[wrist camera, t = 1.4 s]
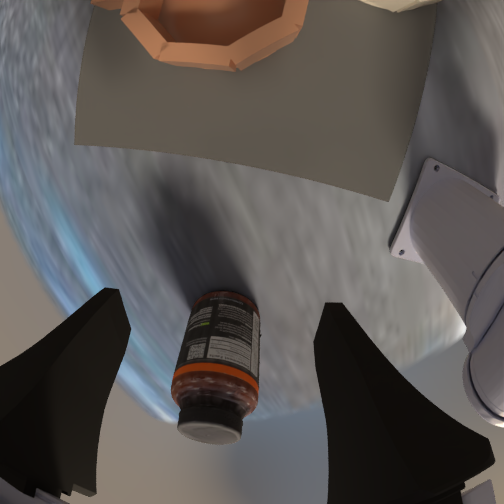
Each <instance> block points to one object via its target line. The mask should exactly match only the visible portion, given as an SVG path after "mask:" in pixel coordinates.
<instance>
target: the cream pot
mask: <svg viewBox="0 0 504 504" xmlns="http://www.w3.org/2000/svg"><path fill="white" fill-rule="evenodd" d="M359 1H361V2H364V3H366V4H369V5H372V6H375V7H379V8H382V9H388V10H390V11H392V12H395V11H397V13H399V12H402V11H406V10H412V9H415V8H418V7H421V6H426V5H430V4H434V3H437V2H439V1H442V0H359Z"/></svg>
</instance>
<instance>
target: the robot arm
mask: <svg viewBox="0 0 504 504" xmlns="http://www.w3.org/2000/svg"><path fill="white" fill-rule="evenodd" d="M435 165H437V168H436V170H434V167H435ZM400 250H403V251H402V252H400V253H399V251H400ZM390 253H391V255H392V256H394V257H398V258H402V259H407V260H411V261H415V262H419V263H423V264H425V265H426V266H427V267H428V269H429V270H430V272H431V273H432V274H433V276H434V277H435V279H436V280H437V282H438V283H439V284H440V286H441V287H442V289H443V290H444V292H445V293H446V295H447V296H448V298H449V299H450V301H451V302H452V304H453V306H454V307H455V309H456V310H457V312H458V313H459V315H460V317H461V318H462V320H463V322H464V323H465V325H466V327H467V329H466V333H465V335H464V336H463V341H464V343H465V345H466V347H467V349H468V351H469V354H468V355H467V357H466V359H465V362H464V365H463V371H462V372H463V385H464V388H465V392H466V394H467V397H468V399H469V401H470V403H471V405H472V407H473V408H474V409H475V411H476V412H477V413H478V414H479V415H480V416H481V417H482V418H483V419H484V420H486V421H487V422H488V423H491V424H493V425H496V426H499V427H504V207H503V206H501V205H500V197H499V196H498V195H497V194H495V193H494V192H492V191H490V190H489V189H487V188H486V187H484V186H482V185H481V184H479V183H477V182H476V181H474V180H472V179H470V178H469V177H467V176H465V175H463V174H461V173H460V172H458V171H456V170H454V169H452V168H450V167H448V166H446V165H444V164H442V163H440V162H438V161H436V160H434V159H432V158H427V159H426V160H425V162H424V165H423V167H422V170H421V173H420V176H419V179H418V182H417V184H416V187H415V190H414V192H413V195H412V198H411V200H410V203H409V205H408V208H407V210H406V213H405V215H404V217H403V220H402V222H401V224H400V227H399V229H398V231H397V234H396V236H395V238H394V240H393V242H392V245H391V247H390ZM130 332H131V327H130V324H129V321H128V318H127V314H126V311H125V308H124V305H123V302H122V298H121V295H120V291H119V289H113V288H104V289H102V290H101V291H99V292H98V293H97V294H96V295H94V296H93V297H92V298H91V299H90V300H88V301H87V302H86V303H85V304H84V305H82V306H81V307H80V308H79V309H78V310H76V311H75V312H74V313H73V314H72V315H71V316H69V317H68V318H67V319H66V320H65V321H64V322H62V323H61V324H60V325H59V326H57V327H56V328H55V329H54V330H52V331H51V332H50V333H49V334H47V335H46V336H45V337H44V338H43V339H41V340H40V341H39V342H37V343H36V344H34V345H33V346H32V347H30V348H29V349H27V350H26V351H24V352H23V353H22V354H20V355H19V356H17V357H15V358H13V359H12V360H10V361H8V362H7V363H5V364H3V365H2V366H0V504H69V503H67V502H65V501H63V500H61V499H60V496H61V492H62V493H64V494H66V495H68V496H71V492H72V490H73V491H76V492H78V493H81V494H83V495H86V496H88V497H91V496H94V495H95V494H97V493H96V464H97V451H98V450H97V449H98V443H99V435H100V428H101V424H102V418H103V414H104V409H105V406H106V403H107V399H108V397H109V394H110V391H111V388H112V386H113V383H114V380H115V378H116V375H117V373H118V370H119V367H120V365H121V362H122V360H123V357H124V354H125V351H126V348H127V344H128V340H129V336H130ZM314 356H315V367H316V372H317V377H318V382H319V387H320V392H321V397H322V403H323V408H324V413H325V418H326V425H327V435H328V459H329V460H328V461H329V479H328V502H327V504H496V501H495V495H494V491H493V486H492V482H491V480H490V479H489V480H487V481H485V482H483V483H481V484H479V485H477V486H475V487H474V488H472V489H470V490H468V491H465V492H463V493H461V490H463V489H464V488H465V483H464V482H465V481H467V480H469V479H470V478H472V477H474V476H476V475H477V474H479V473H481V472H482V471H484V470H486V469H487V468H489V467H490V466H492V465H493V464H494V463H495V458H494V454H493V451H492V448H491V445H490V442H489V439H488V438H486V437H484V436H482V435H480V434H478V433H476V432H474V431H473V430H471V429H469V428H467V427H465V426H464V425H462V424H461V423H459V422H457V421H456V420H455V419H453V418H452V417H450V416H449V415H447V414H446V413H445V412H443V411H442V410H441V409H439V408H438V407H437V406H436V405H434V404H433V403H432V402H430V401H429V400H428V399H427V398H426V397H425V396H424V395H422V394H421V393H420V392H419V391H418V390H417V389H416V388H415V387H414V386H412V384H411V383H410V382H408V381H407V380H406V379H405V378H404V377H403V376H402V375H401V374H400V373H399V372H398V370H397V369H396V368H395V367H394V366H393V365H392V364H391V363H390V362H389V360H388V359H387V358H386V357H385V356H384V355H383V354H382V352H381V351H380V350H379V349H378V348H377V346H376V345H375V344H374V343H373V341H372V340H371V339H370V338H369V337H368V335H367V334H366V333H365V331H364V330H363V329H362V328H361V326H360V325H359V324H358V322H357V321H356V320H355V319H354V317H353V316H352V315H351V313H350V312H349V311H348V310H347V308H346V307H345V306H344V304H343V303H326V302H325V306H324V309H323V312H322V316H321V319H320V322H319V326H318V329H317V332H316V335H315V339H314Z"/></svg>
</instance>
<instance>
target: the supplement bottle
mask: <svg viewBox="0 0 504 504" xmlns="http://www.w3.org/2000/svg"><path fill="white" fill-rule="evenodd" d="M260 337H261V335H260V315H259V312H258V310H257V308H256V306H255V305H254V304H253V303H252V302H251V301H250V300H249V299H248V298H246V297H244V296H242V295H240V294H237V293H234V292H229V291H215V292H211V293H208V294H205V295H204V296H202V297H201V298H199V299H198V300H197V301H196V303H195V304H194V306H193V308H192V311H191V314H190V317H189V321H188V324H187V328H186V332H185V335H184V339H183V342H182V346H181V350H180V353H179V357H178V360H177V364H176V368H175V372H174V376H173V380H172V385H171V395H172V398H173V400H174V401H175V403H176V404H177V405H178V406H179V407H180V409H181V411H180V413H179V421H178V426H177V428H178V431H179V432H180V433H181V434H182V435H184V436H185V437H187V438H189V439H192V440H195V441H198V442H202V443H207V444H215V445H224V444H232V443H235V442H237V441H239V440H240V438H241V434H242V426H243V421H242V419H243V418H244V417H246V416H247V415H249V414H250V413H252V412H253V411H254V409H255V408H256V406H257V403H258V390H259V363H260V362H259V359H260V355H259V354H260Z"/></svg>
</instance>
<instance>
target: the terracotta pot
mask: <svg viewBox="0 0 504 504" xmlns="http://www.w3.org/2000/svg"><path fill="white" fill-rule="evenodd" d="M308 2H309V0H91V4H93V5H96V6H99V7H102V8H104V9H107V10H115V9H121V12H120V15H122V16H123V17H122V18H121V20H122V21H123V22H124V24H125V25H126V26H127V27H128V28H129V29H130V31H131V32H132V33H133V34H134V35H135V37H136V38H137V39H138V40H139V41H140V43H141V44H142V45H143V46H144V47H145V49H146V50H147V51H148V52H149V54H150V55H151V56H152V57H153V59H157V60H159V61H160V62H164V63H168V64H171V65H175V66H183V67H196V68H203V69H215V70H224V71H232V72H236V68H239V69H240V70H241V71H242V70H243V69H245V68H247V67H248V66H250V65H251V64H253V63H255V62H257V61H260V60H262V59H264V58H266V57H268V56H269V55H271V54H272V53H274V52H275V51H277V50H278V49H280V48H282V47H284V46H286V45H288V44H290V43H292V42H293V41H294V39H295V38H296V37H297V36H298V34H299V32H300V30H301V28H302V26H303V23H304V19H305V14H306V10H307V6H308Z"/></svg>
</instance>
